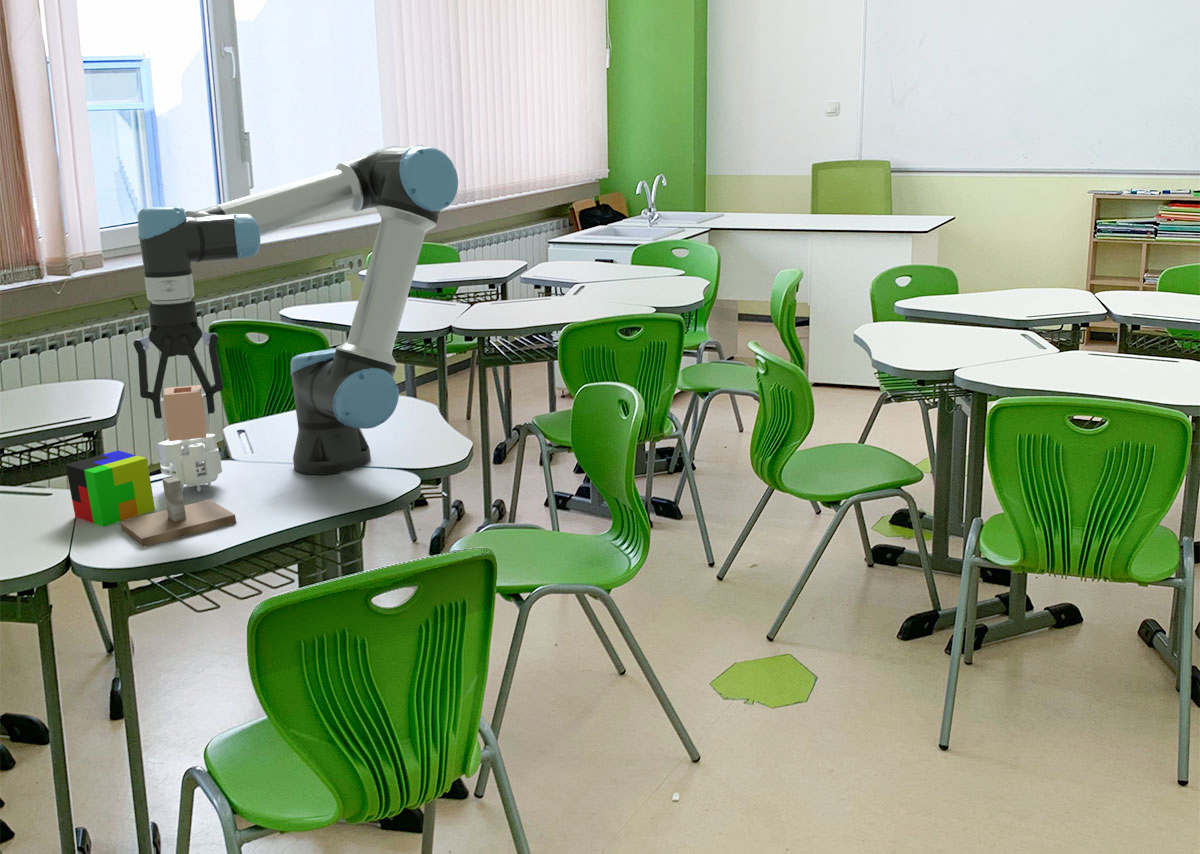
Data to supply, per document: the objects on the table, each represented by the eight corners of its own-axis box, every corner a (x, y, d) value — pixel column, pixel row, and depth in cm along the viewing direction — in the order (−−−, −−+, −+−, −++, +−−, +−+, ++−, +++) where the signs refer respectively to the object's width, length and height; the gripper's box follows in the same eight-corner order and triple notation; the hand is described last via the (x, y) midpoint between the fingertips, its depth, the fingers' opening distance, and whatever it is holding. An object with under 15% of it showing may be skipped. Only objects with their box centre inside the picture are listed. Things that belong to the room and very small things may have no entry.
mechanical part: (213, 474, 232) (204, 417, 229) (234, 488, 223) (225, 428, 220) (155, 487, 226) (146, 428, 223) (174, 502, 216) (165, 441, 213)
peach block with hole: (170, 432, 204) (164, 388, 202) (206, 429, 206) (201, 384, 204) (169, 441, 198) (163, 395, 196) (206, 437, 200) (200, 391, 198)
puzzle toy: (126, 501, 219) (118, 450, 216) (155, 510, 212) (146, 458, 210) (75, 517, 211) (65, 464, 209) (103, 527, 205) (93, 473, 202)
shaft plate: (211, 507, 212) (204, 462, 210) (236, 522, 203) (229, 476, 201) (120, 529, 203) (112, 483, 201) (143, 547, 194) (134, 498, 192)
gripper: (108, 307, 190) (127, 445, 195) (231, 299, 195) (245, 433, 201) (112, 301, 197) (130, 434, 202) (230, 293, 202) (244, 423, 208)
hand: (187, 433), depth 202 cm, fingers closed on peach block with hole, 6 cm apart
